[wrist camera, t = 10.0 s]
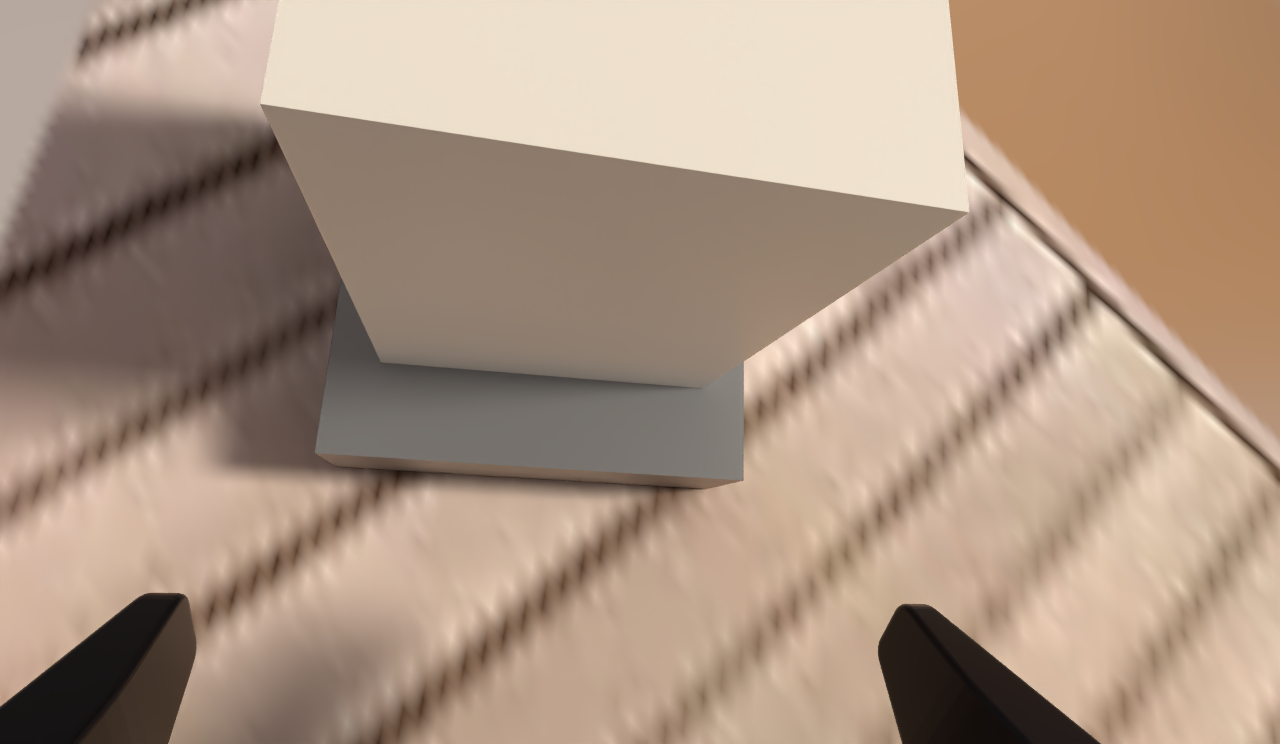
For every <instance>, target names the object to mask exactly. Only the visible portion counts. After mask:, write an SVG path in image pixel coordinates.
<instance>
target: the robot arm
mask: <svg viewBox="0 0 1280 744" xmlns="http://www.w3.org/2000/svg"><path fill="white" fill-rule="evenodd" d="M195 654H196V636H195V631H194V625H193V620H192V615H191V609H190V604H189V601H188V598H187V597H186V596H185V595H184V594H180V593H147V594H144V595H142V596H140V597H138V598H137V599H135V600H134V601H133V602H132V603H130V604H129V605H128V606H127V607H125V608H124V609H123V610H121V611H120V612H119V613H118V614H116V615H115V616H114V617H113V618H111V619H110V620H109V621H108V622H106V623H105V624H104V625H103V626H101V627H100V628H99V629H98V630H96V631H95V632H94V633H92V634H91V635H90V636H89V637H87V638H86V639H85V640H84V641H82V642H81V643H80V644H79V645H77V646H76V647H75V648H74V649H72V650H71V651H70V652H69V653H67V654H66V655H65V656H63V657H62V658H61V659H60V660H58V661H57V662H56V663H55V664H53V665H52V666H51V667H50V668H48V669H47V670H46V671H45V672H43V673H42V674H41V675H40V676H38V677H37V678H36V679H35V680H33V681H32V682H31V683H29V684H28V685H27V686H26V687H24V688H23V689H22V690H21V691H19V692H18V693H17V694H16V695H14V696H13V697H12V698H11V699H9V700H8V701H7V702H6V703H4V704H3V705H2V706H0V744H168V742H169V739H170V736H171V733H172V730H173V726H174V723H175V720H176V717H177V714H178V711H179V707H180V704H181V701H182V698H183V695H184V692H185V689H186V685H187V682H188V679H189V676H190V673H191V670H192V666H193V663H194V659H195ZM878 657H879V662H880V665H881V669H882V673H883V676H884V680H885V683H886V687H887V691H888V694H889V698H890V701H891V705H892V709H893V712H894V716H895V719H896V723H897V727H898V730H899V734H900V737H901V741H902V744H1101V743H1099V742H1098V741H1097V740H1096V739H1094V738H1093V737H1092V736H1091V735H1090V734H1088V733H1087V732H1086V731H1085V730H1083V729H1082V728H1081V727H1080V726H1078V725H1077V724H1076V723H1075V722H1074V721H1072V720H1071V719H1070V718H1069V717H1067V716H1066V715H1065V714H1064V713H1062V712H1061V711H1060V710H1059V709H1058V708H1056V707H1055V706H1054V705H1053V704H1051V703H1050V702H1049V701H1048V700H1046V699H1045V698H1044V697H1043V696H1042V695H1040V694H1039V693H1038V692H1037V691H1035V690H1034V689H1033V688H1032V687H1030V686H1029V685H1028V684H1027V683H1026V682H1024V681H1023V680H1022V679H1021V678H1019V677H1018V676H1017V675H1016V674H1014V673H1013V672H1012V671H1011V670H1010V669H1008V668H1007V667H1006V666H1005V665H1003V664H1002V663H1001V662H1000V661H998V660H997V659H996V658H995V657H994V656H992V655H991V654H990V653H989V652H987V651H986V650H985V649H984V648H982V647H981V646H980V645H979V644H978V643H976V642H975V641H974V640H973V639H971V638H970V637H969V636H968V635H966V634H965V633H964V632H963V631H962V630H960V629H959V628H958V627H957V626H955V625H954V624H953V623H952V622H950V621H949V620H948V619H947V618H946V617H944V616H943V615H942V614H941V613H939V612H938V611H937V610H936V609H934V608H933V607H931V606H929V605H925V604H902V605H901V606H899V607H898V608H897V609H896V611H895V612H894V614H893V616H892V618H891V620H890V622H889V624H888V626H887V627H886V629H885V631H884V633H883V635H882V637H881V639H880V641H879V645H878Z"/></svg>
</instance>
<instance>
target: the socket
mask: <svg viewBox="0 0 1280 744" xmlns="http://www.w3.org/2000/svg"><path fill="white" fill-rule="evenodd" d="M743 431H744V361H743V362H742V363H740V364H739V365H737V366H736V367H734V368H733V369H731V370H730V371H728V372H727V373H725V374H724V375H722V376H721V377H719V378H718V379H716V380H715V381H713V382H712V383H710V384H709V385H707V386H706V387H704V388H692V387H679V386H667V385H654V384H642V383H630V382H617V381H605V380H593V379H580V378H568V377H555V376H543V375H531V374H518V373H506V372H494V371H481V370H469V369H456V368H444V367H432V366H419V365H407V364H395V363H382V362H381V361H380V359H379V357H378V355H377V353H376V351H375V348H374V346H373V344H372V342H371V340H370V338H369V336H368V333H367V331H366V329H365V327H364V325H363V323H362V321H361V319H360V316H359V314H358V312H357V310H356V308H355V306H354V304H353V301H352V299H351V297H350V295H349V293H348V291H347V289H346V286H345V284H344V282H343V280H342V278H341V284H340V290H339V297H338V303H337V310H336V316H335V323H334V329H333V336H332V342H331V349H330V355H329V362H328V368H327V375H326V381H325V388H324V394H323V401H322V407H321V414H320V420H319V427H318V433H317V440H316V446H315V454H317V455H318V456H320V457H322V458H323V459H325V460H327V461H328V462H330V463H332V464H333V465H335V466H337V467H353V468H369V469H386V470H402V471H419V472H436V473H452V474H469V475H485V476H502V477H519V478H535V479H552V480H568V481H585V482H602V483H618V484H635V485H651V486H668V487H684V488H701V489H709V488H713V487H718V486H722V485H726V484H731V483H735V482H739V481H743Z"/></svg>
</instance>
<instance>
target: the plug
mask: <svg viewBox="0 0 1280 744" xmlns="http://www.w3.org/2000/svg"><path fill="white" fill-rule="evenodd" d="M260 105H261V107H262V109H263V111H264V113H265V115H266V117H267V120H268V122H269V124H270V126H271V128H272V130H273V132H274V135H275V137H276V139H277V141H278V143H279V145H280V147H281V150H282V152H283V154H284V156H285V158H286V160H287V162H288V165H289V167H290V169H291V171H292V173H293V175H294V177H295V180H296V182H297V184H298V186H299V188H300V190H301V192H302V194H303V197H304V199H305V201H306V203H307V205H308V207H309V209H310V212H311V214H312V216H313V218H314V220H315V222H316V224H317V227H318V229H319V231H320V233H321V235H322V237H323V239H324V242H325V244H326V246H327V248H328V250H329V252H330V254H331V256H332V259H333V261H334V263H335V265H336V267H337V269H338V271H339V274H340V276H341V278H342V280H343V282H344V284H345V286H346V289H347V291H348V293H349V295H350V297H351V299H352V301H353V304H354V306H355V308H356V310H357V312H358V314H359V316H360V319H361V321H362V323H363V325H364V327H365V329H366V331H367V333H368V336H369V338H370V340H371V342H372V344H373V346H374V348H375V351H376V353H377V355H378V357H379V359H380V361H381V362H382V363H395V364H407V365H419V366H432V367H444V368H456V369H469V370H481V371H494V372H506V373H518V374H531V375H543V376H555V377H568V378H580V379H593V380H605V381H617V382H630V383H642V384H654V385H667V386H679V387H692V388H704V387H706V386H707V385H709V384H710V383H712V382H713V381H715V380H716V379H718V378H719V377H721V376H722V375H724V374H725V373H727V372H728V371H730V370H731V369H733V368H734V367H736V366H737V365H739V364H740V363H742V362H743V361H745V360H746V359H748V358H750V357H751V356H753V355H754V354H756V353H757V352H759V351H760V350H762V349H763V348H765V347H766V346H768V345H769V344H771V343H772V342H774V341H775V340H777V339H778V338H780V337H781V336H783V335H784V334H786V333H787V332H789V331H790V330H792V329H793V328H795V327H796V326H798V325H799V324H801V323H802V322H804V321H805V320H807V319H808V318H810V317H812V316H813V315H815V314H816V313H818V312H819V311H821V310H822V309H824V308H825V307H827V306H828V305H830V304H831V303H833V302H834V301H836V300H837V299H839V298H840V297H842V296H843V295H845V294H846V293H848V292H849V291H851V290H852V289H854V288H855V287H857V286H858V285H860V284H861V283H863V282H864V281H866V280H867V279H869V278H870V277H872V276H874V275H875V274H877V273H878V272H880V271H881V270H883V269H884V268H886V267H887V266H889V265H890V264H892V263H893V262H895V261H896V260H898V259H899V258H901V257H902V256H904V255H905V254H907V253H908V252H910V251H911V250H913V249H914V248H916V247H917V246H919V245H920V244H922V243H923V242H925V241H926V240H928V239H929V238H931V237H932V236H934V235H935V234H937V233H939V232H940V231H942V230H943V229H945V228H946V227H948V226H949V225H951V224H952V223H954V222H955V221H957V220H958V219H960V218H961V217H963V216H964V215H966V214H967V213H969V204H968V194H967V184H966V174H965V163H964V153H963V143H962V133H961V123H960V113H959V102H958V92H957V82H956V72H955V62H954V52H953V42H952V31H951V21H950V12H949V1H948V0H279V3H278V8H277V14H276V19H275V25H274V30H273V35H272V41H271V46H270V52H269V57H268V63H267V68H266V74H265V79H264V85H263V90H262V96H261V101H260Z"/></svg>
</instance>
